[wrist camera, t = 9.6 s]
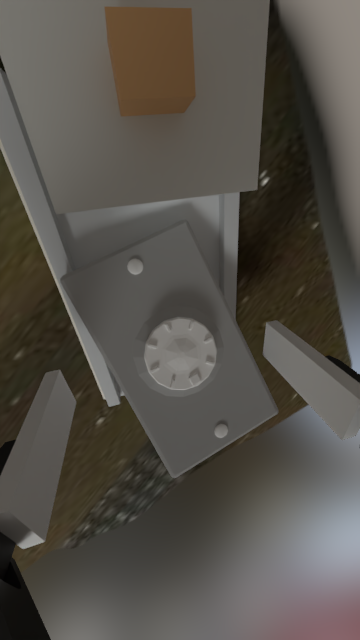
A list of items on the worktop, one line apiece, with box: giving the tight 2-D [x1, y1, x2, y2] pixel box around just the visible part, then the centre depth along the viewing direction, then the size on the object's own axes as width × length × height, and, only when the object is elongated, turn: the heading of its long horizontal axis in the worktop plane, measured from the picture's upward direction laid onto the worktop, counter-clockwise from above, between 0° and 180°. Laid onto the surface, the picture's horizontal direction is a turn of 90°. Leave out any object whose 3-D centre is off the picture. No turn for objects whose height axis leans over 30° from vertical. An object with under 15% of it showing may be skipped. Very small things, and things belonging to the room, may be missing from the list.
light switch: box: [60, 220, 278, 478], centre depth 16 cm, size 8×6×14 cm
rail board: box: [0, 0, 270, 407], centre depth 12 cm, size 13×21×10 cm, turn 6°
